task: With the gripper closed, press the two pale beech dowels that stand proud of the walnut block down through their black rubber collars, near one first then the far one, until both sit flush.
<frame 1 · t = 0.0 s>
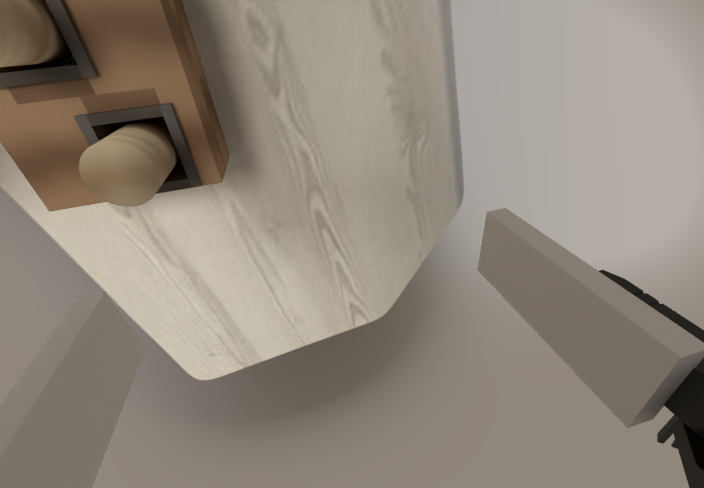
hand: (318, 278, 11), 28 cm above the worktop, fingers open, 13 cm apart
walnut block: (126, 84, 30), on the worktop
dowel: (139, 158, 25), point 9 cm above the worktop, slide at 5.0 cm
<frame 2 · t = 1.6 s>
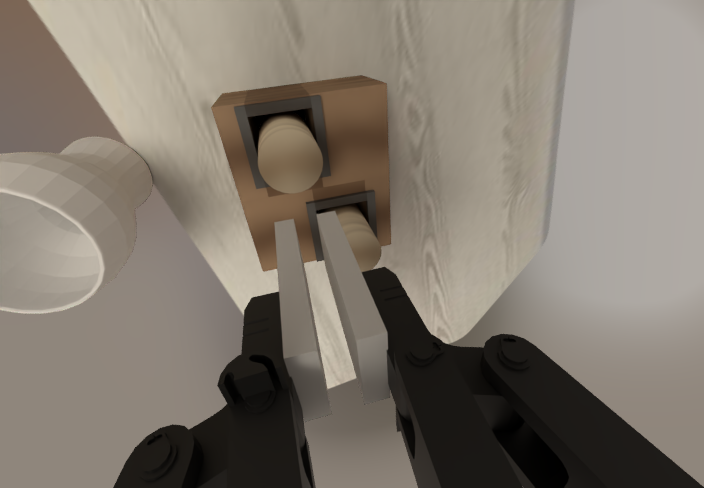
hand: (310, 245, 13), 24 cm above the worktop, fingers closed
walnut block: (307, 161, 36), on the worktop
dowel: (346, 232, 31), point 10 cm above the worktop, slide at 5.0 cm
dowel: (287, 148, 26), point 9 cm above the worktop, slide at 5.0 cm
cup: (110, 174, 32), on the worktop
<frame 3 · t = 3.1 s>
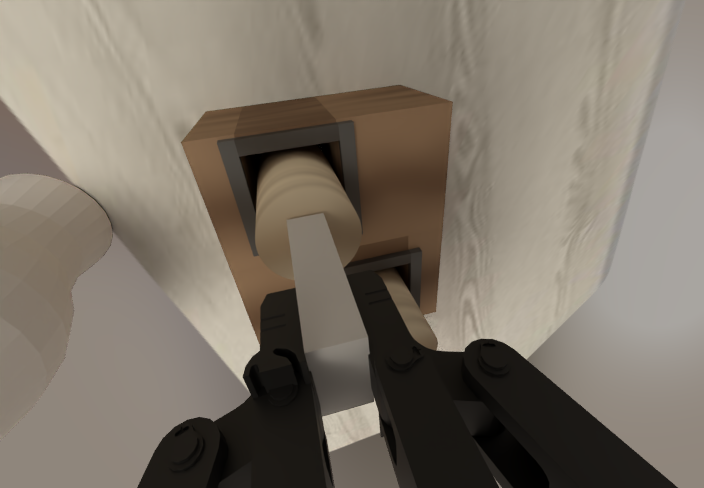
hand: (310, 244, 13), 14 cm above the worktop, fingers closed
walnut block: (323, 199, 27), on the worktop
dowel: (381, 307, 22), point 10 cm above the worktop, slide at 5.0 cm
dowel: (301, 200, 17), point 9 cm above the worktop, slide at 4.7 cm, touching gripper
cup: (51, 222, 23), on the worktop
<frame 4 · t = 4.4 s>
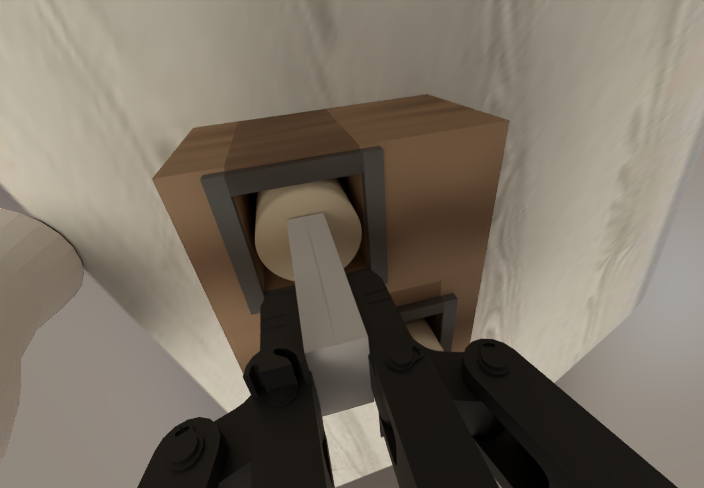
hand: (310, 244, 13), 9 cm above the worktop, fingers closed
walnut block: (333, 226, 23), on the worktop
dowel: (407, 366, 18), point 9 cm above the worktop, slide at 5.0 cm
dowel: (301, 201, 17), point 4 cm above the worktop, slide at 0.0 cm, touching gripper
cup: (8, 260, 19), on the worktop
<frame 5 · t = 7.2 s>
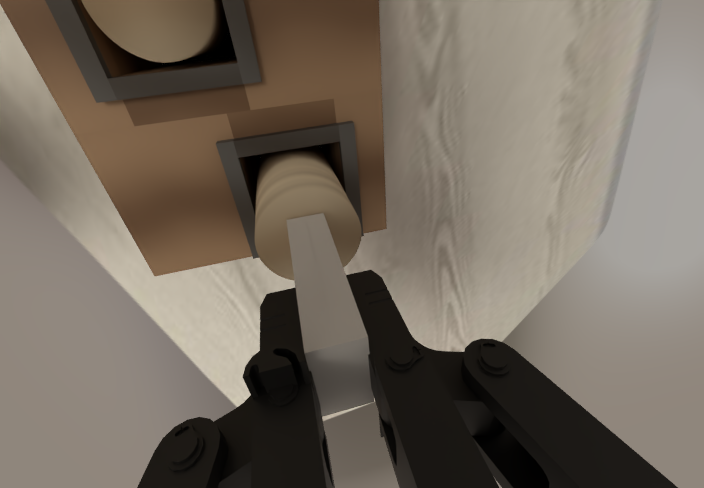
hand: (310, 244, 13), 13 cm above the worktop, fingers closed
walnut block: (245, 90, 21), on the worktop
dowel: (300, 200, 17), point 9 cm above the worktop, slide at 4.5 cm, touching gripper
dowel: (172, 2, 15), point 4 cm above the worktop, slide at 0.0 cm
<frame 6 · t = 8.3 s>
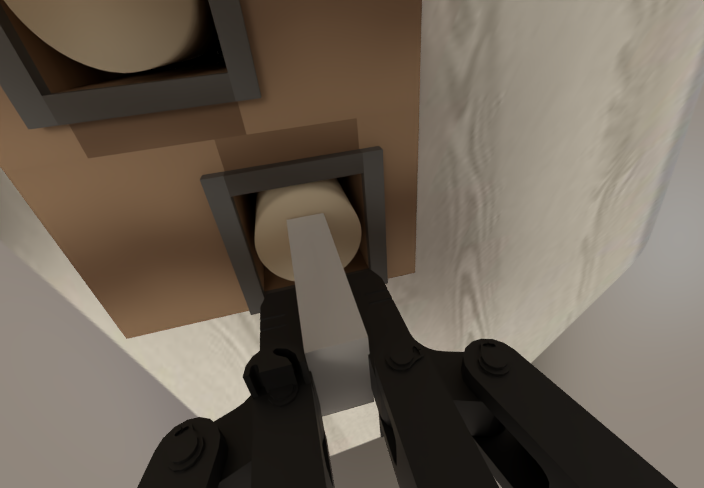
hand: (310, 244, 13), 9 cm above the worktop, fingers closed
walnut block: (242, 101, 18), on the worktop
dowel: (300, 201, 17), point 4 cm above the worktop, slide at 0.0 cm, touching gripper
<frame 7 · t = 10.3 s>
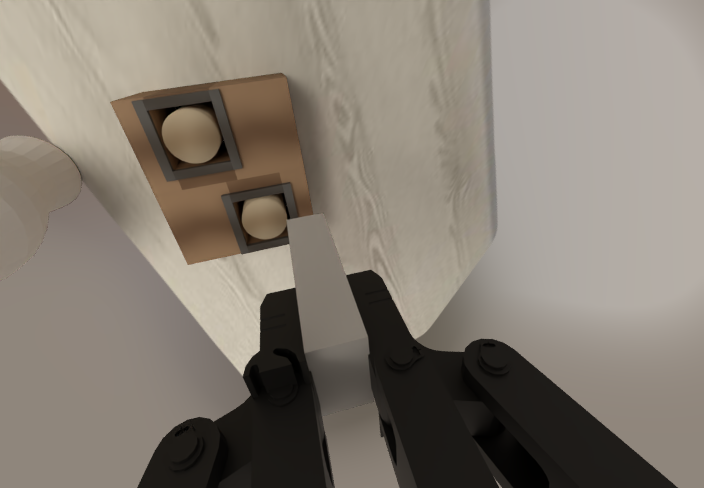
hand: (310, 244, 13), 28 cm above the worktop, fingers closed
walnut block: (237, 158, 37), on the worktop
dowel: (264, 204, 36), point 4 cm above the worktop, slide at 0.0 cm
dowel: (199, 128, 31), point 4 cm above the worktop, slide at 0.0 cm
cup: (38, 172, 33), on the worktop
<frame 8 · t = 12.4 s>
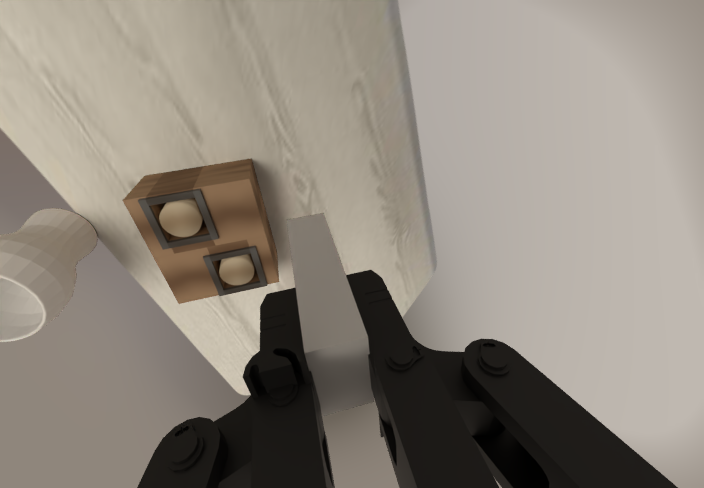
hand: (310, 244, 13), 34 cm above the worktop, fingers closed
walnut block: (218, 218, 48), on the worktop
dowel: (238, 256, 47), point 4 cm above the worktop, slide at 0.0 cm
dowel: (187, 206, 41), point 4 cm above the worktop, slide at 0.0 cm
cup: (64, 232, 44), on the worktop
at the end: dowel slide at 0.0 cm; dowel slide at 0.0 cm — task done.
